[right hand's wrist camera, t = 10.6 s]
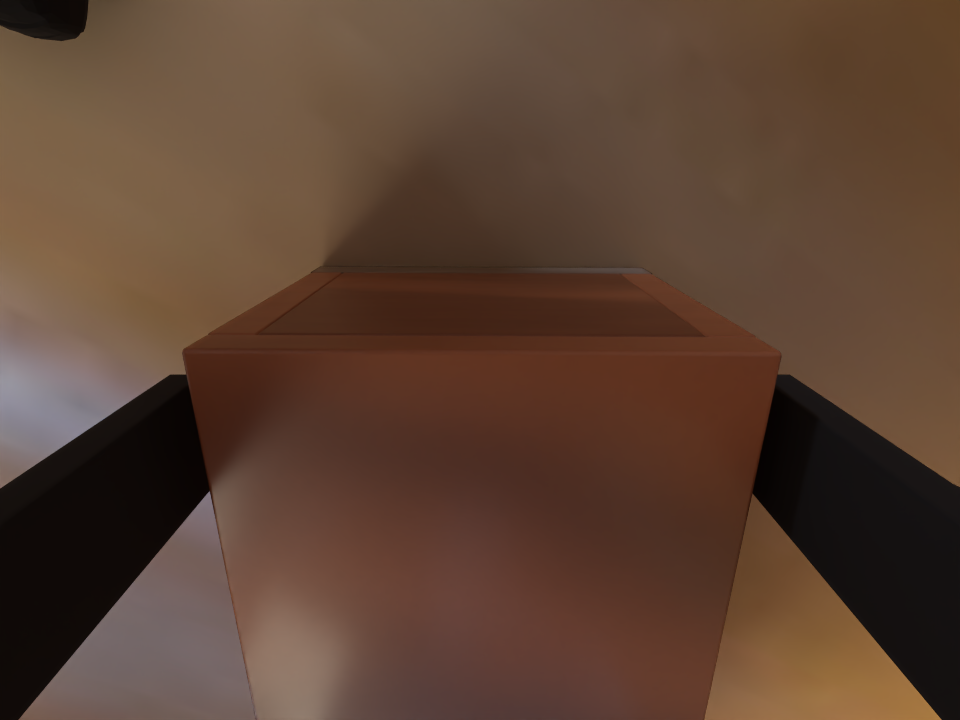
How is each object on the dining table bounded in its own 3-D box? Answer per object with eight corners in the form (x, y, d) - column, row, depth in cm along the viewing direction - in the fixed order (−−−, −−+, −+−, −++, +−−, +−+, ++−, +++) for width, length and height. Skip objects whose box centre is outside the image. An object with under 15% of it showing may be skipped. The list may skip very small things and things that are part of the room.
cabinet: (595, 700, 24) (653, 968, 16) (363, 698, 24) (303, 966, 16) (642, 268, 17) (785, 351, 9) (320, 266, 17) (178, 348, 9)
